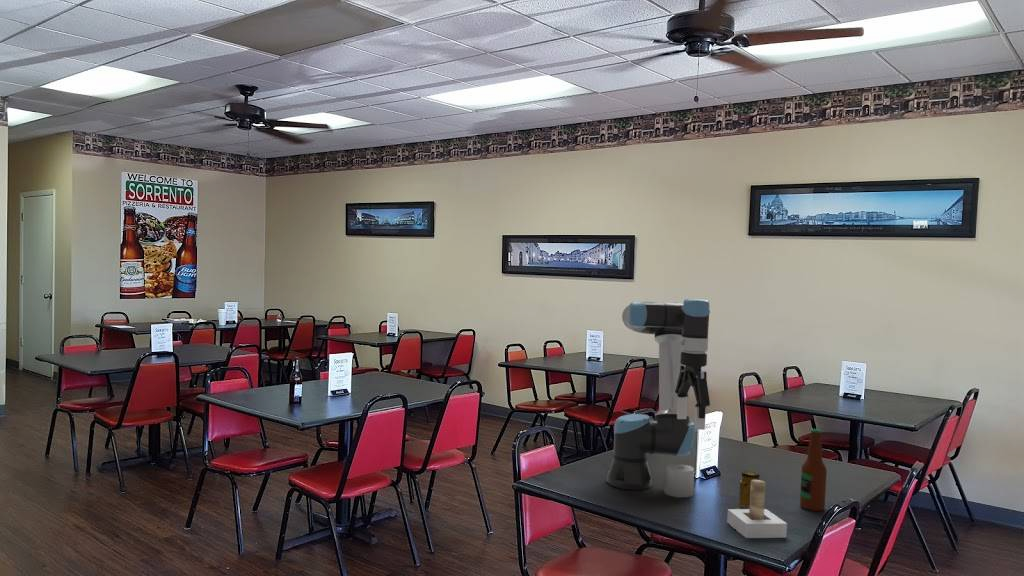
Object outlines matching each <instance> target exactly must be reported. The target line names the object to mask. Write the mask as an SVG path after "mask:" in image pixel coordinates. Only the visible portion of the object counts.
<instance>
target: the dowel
mask: <svg viewBox="0 0 1024 576" xmlns="http://www.w3.org/2000/svg"><path fill="white" fill-rule="evenodd" d="M766 485H767V484H766V482H765V481H764V480H751V490H750V508H749V518H750V519H751V520H764V509H765V500H766Z"/></svg>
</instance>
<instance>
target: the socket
mask: <svg viewBox="0 0 1024 576" xmlns="http://www.w3.org/2000/svg"><path fill="white" fill-rule="evenodd" d="M728 523H729V524H730V527H732V528H733V529H734V530H735V529H736V531H737V532H738V533H739V534H740V535H741V536H743V537H744V538H745V539H769V538H770V539H771V538H772V539H773V538H774V539H775V538H777V539H778V538H780V539H781V538H783V539H785V538H787V529H788V523H787V522H786V521H784V520H783V519H782V518H780V517H779V516H777V515H776V514H774V513H772V512H771V511H769V509H766V508H764V520H751V519H750V518H749V509H738V508H731V509H729V508H728V509H727V517H726V524H728ZM729 524H728V525H729Z"/></svg>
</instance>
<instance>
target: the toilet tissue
mask: <svg viewBox="0 0 1024 576" xmlns="http://www.w3.org/2000/svg"><path fill="white" fill-rule="evenodd" d="M694 478H695V468H694V467H693V466H691V465H687V464H682V463H668V464H666V465H665V466H664V479H663V480H664V481H663V493H664V494H665V495H667V496H669V497H673V496H674V497H673V498H681V497H685V498H691V496H692V497H693V495H694ZM685 498H684V499H685Z"/></svg>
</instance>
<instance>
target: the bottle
mask: <svg viewBox="0 0 1024 576" xmlns="http://www.w3.org/2000/svg"><path fill="white" fill-rule="evenodd" d="M822 431H823V430H821V429H817V428H811V429H810V432H811V433H810V440H809V443H808V448H807V458H806V460H805V461H804V462H803V463H802V466H801V477H800V493H799V494H800V495H799V496H800V497H799V505H800V506H801V508H803V509H804V510H807V511H811V512H822V511H824V509H825V507H826V491H827V490H826V489H827V471H828V469H827V467H826V465H825V463H824V461H823V444H822V439H821V438H822V433H823V432H822Z"/></svg>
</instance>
